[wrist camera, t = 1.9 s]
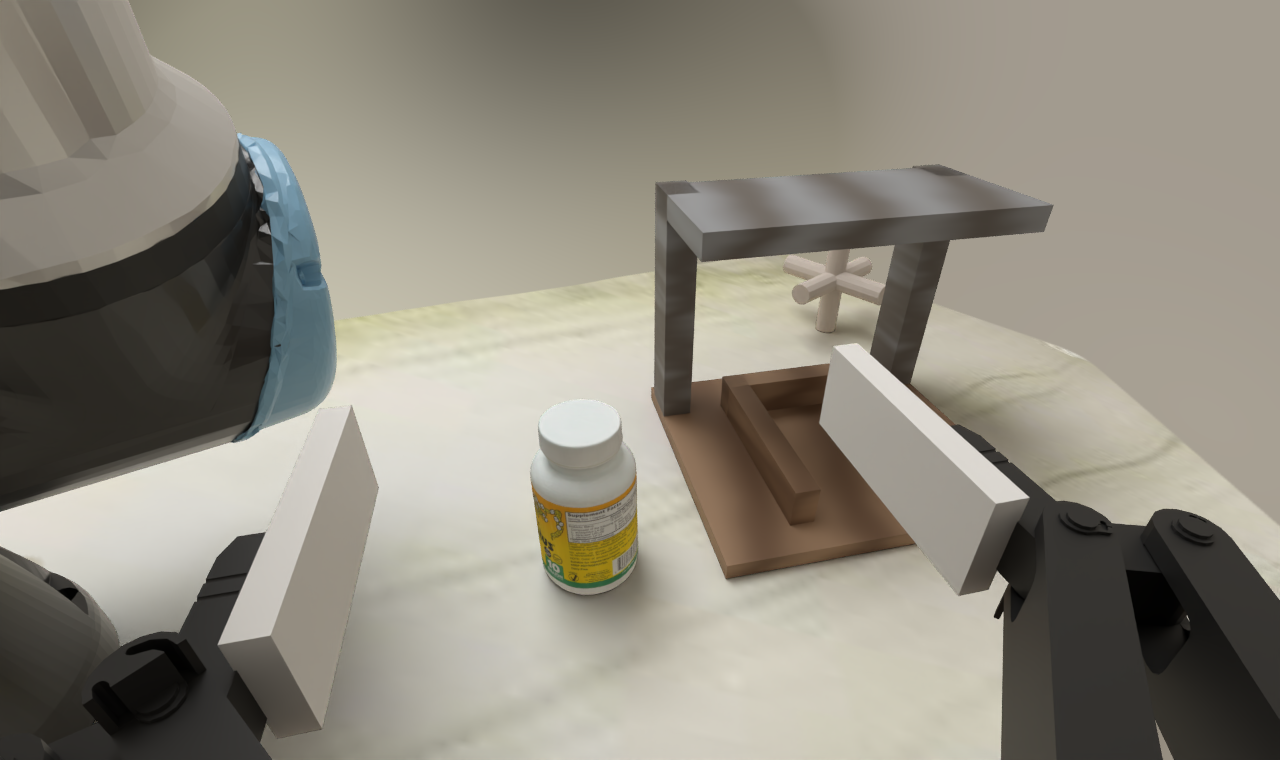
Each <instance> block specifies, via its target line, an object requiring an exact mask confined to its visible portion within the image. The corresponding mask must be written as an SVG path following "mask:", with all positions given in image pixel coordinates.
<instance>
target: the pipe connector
mask: <svg viewBox="0 0 1280 760" xmlns="http://www.w3.org/2000/svg"><path fill="white" fill-rule="evenodd" d="M849 251H850V249H843V250H831V251H828V254H827V261H826V265H823V264H820V263H817V262H814V261H811V260H808V259H804V258H801V257H798V256H795V255H789V256H788V257H787V258H786V260H785V262H784V265H783V270H784V272H785V273H788V274H791V275H794V276H796V277H799V278H802V279H805V280H807V281H805V282H803V283H800V284H798V285H796V286H795V287H794V288H793V290H792V296H793V298H794V300H795V302H797V303H798V304H803V305H804V304H806V303H808V302H810V301H812V300H814V299H817V298H819V297H820V302H819V308H818V314H817V320H816V326H815V328H816V329H817V330H818V331H821V332H833V331H834V330H835V326H836V321H837V315H838V310H839V305H840V299H841V294H842V293H845V294H848V295H851V296H854V297H857V298H860V299H862V300H865V301H868V302H871V303H874V304H877V305H881V304H882V299H883V295H884V290H885V286H886V285H885V284H882V283H879V282H876V281H873V280H870V279H867V278H863V276H865V275H867V274H869V273H870V272H871V270H872V263H871V261H870V260H869V259H868V258H866V257H859V258H857V259H855V260H853V261H850V262H848V257H849ZM847 262H848V263H847Z"/></svg>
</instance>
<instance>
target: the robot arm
mask: <svg viewBox="0 0 1280 760" xmlns="http://www.w3.org/2000/svg"><path fill="white" fill-rule="evenodd" d="M336 361H337V357H336V336H335V327H334V318H333V312H332V306H331V300H330V295H329V290H328V286H327V284H326V281H325V279H324V277H323V275H322V274H321V260H320V253H319V247H318V242H317V238H316V234H315V230H314V227H313V223H312V221H311V217H310V214H309V211H308V208H307V205H306V202H305V199H304V196H303V194H302V191H301V188H300V186H299V183H298V181H297V179H296V177H295V175H294V173H293V171H292V169H291V167H290V165H289V163H288V161H287V159H286V158H285V156H284V154H283V153H282V152H281V151H280V150H279V148H277V147H276V145H274V144H273V143H271V142H270V141H268V140H266V139H262V138H256V137H249V136H246V135H241V133H238V134H237V133H236V130H235V127H234V124H233V122H232V120H231V118H230V116H229V114H228V112H227V110H226V108H225V107H224V106H223V105H222V103H221V102H220V101H219V100H218V99H217V98H216V96H215V95H214V94H213V93H211V92H210V91H209V90H208V89H207V88H206V87H205V86H204V85H202V84H201V83H199V82H198V81H196V80H195V79H193V78H192V77H190V76H188V75H187V74H185V73H183V72H181V71H180V70H178V69H176V68H174V67H172V66H170V65H168V64H166V63H164V62H162V61H161V60H159V59H157V58H155V57H153V56H151V55H150V53H149V51H148V48H147V46H146V43H145V42H144V38H143V36H142V33H141V31H140V28H139V26H138V23H137V21H136V18H135V16H134V14H133V11H132V9H131V6H130V4H129V1H128V0H0V512H1V511H4V510H7V509H11V508H14V507H17V506H21V505H24V504H27V503H31V502H34V501H37V500H41V499H44V498H47V497H50V496H54V495H57V494H60V493H64V492H67V491H70V490H74V489H77V488H80V487H84V486H87V485H90V484H94V483H97V482H100V481H104V480H107V479H110V478H113V477H117V476H120V475H123V474H127V473H130V472H133V471H137V470H140V469H143V468H147V467H150V466H153V465H157V464H160V463H163V462H166V461H170V460H173V459H176V458H180V457H183V456H186V455H190V454H193V453H196V452H200V451H203V450H206V449H210V448H213V447H216V446H220V445H223V444H226V443H229V442H233V443H236V442H240V441H244V440H247V439H249V438H250V437H252V436H253V435H255V434H256V433H258V432H259V431H260V430H261V429H264V428H266V427H269V426H272V425H275V424H277V423H280V422H283V421H286V420H289V419H291V418H294V417H297V416H300V415H302V414H305V413H307V412H309V411H311V410H312V409H314V408H316V407H317V406H318V405H319V404H320V403H321V402H322V401H323V400H324V399H325V398H326V396H327V395H328V393H329V392H330V389H331V387H332V385H333V382H334V378H335V372H336ZM819 424H820V425H821V426H822V427H823V429H824V430H825V431H826V432H827V434H828V435H829V436H830V437H831V439H832V440H833V441H834V442H835V444H836V445H837V446H838V447H839V449H840V450H841V451H842V452H843V453H844V455H845V456H846V457H847V458H848V460H849V461H850V462H851V463H852V465H853V466H854V467H855V468H856V470H857V471H858V472H859V473H860V475H861V476H862V477H863V478H864V480H865V481H866V482H867V483H868V485H869V486H870V487H871V488H872V490H873V491H874V492H875V493H876V495H877V496H878V497H879V498H880V500H881V501H882V502H883V503H884V504H885V506H886V507H887V508H888V509H889V511H890V512H891V513H892V514H893V516H894V517H895V518H896V519H897V521H898V522H899V523H900V524H901V526H902V527H903V528H904V529H905V531H906V532H907V533H908V534H909V536H910V537H911V538H912V539H913V541H914V542H915V543H916V544H917V546H918V547H919V548H920V549H921V551H922V552H923V553H924V554H925V555H926V557H927V558H928V559H929V560H930V562H931V563H932V564H933V565H934V567H935V568H936V569H937V570H938V572H939V573H940V574H941V575H942V577H943V578H944V579H945V580H946V582H947V583H948V584H949V585H950V587H951V588H952V589H953V590H954V592H955V593H956V594H957V595H958V596H961V595H965V594H970V593H975V592H980V591H984V590H989V587H990V585H991V583H992V581H993V578H994V576H995V574H996V572H997V571H998V572H999V573H1000V574H1001V575H1002V576H1003V577H1004V578H1005V579H1006V581H1007V582H1008V583H1009V584H1008V586H1007V588H1006V590H1005V592H1004V594H1003V596H1002V599H1001V601H1000V603H999V605H998V607H997V609H996V612H995V614H994V618H997V619H999V618H1000V616H1001V614H1002V612H1004V627H1003V682H1002V737H1001V760H1163V758H1162V753H1161V748H1160V744H1159V738H1158V733H1157V729H1156V723H1157V725H1158V727H1159V729H1160V731H1161V733H1162V735H1163V737H1164V740H1165V741H1166V743H1167V746H1168V748H1169V750H1170V752H1171V754H1172V756H1173V758H1174V760H1280V600H1279V599H1278V597H1277V596H1276V595H1275V594H1274V592H1273V591H1272V590H1271V588H1270V587H1269V586H1268V585H1267V583H1266V582H1265V581H1264V579H1263V578H1262V577H1261V576H1260V574H1259V573H1258V572H1257V570H1256V569H1255V568H1254V567H1253V565H1252V564H1251V563H1250V561H1249V560H1248V559H1247V558H1246V556H1245V555H1244V554H1243V552H1242V551H1241V550H1240V549H1239V547H1238V546H1237V545H1236V543H1235V542H1234V541H1233V540H1232V538H1231V537H1230V536H1229V535H1228V534H1227V533H1226V532H1225V531H1224V530H1222V529H1221V528H1220V527H1218V526H1217V525H1215V524H1214V523H1212V522H1210V521H1209V520H1207V519H1205V518H1203V517H1201V516H1198V515H1196V514H1193V513H1190V512H1186V511H1182V510H1177V509H1162V510H1159V511H1156V512H1154V514H1153V516H1152V517H1151V519H1150V521H1149V522H1148V524H1147V526H1137V525H1125V524H1113V523H1111V522H1110V521H1109V520H1108V519H1107V518H1106V517H1105V516H1103V515H1102V514H1100V513H1098V512H1097V511H1095V510H1093V509H1092V508H1089V507H1086V506H1084V505H1081V504H1078V503H1074V502H1068V501H1055V500H1054V499H1053V498H1052V497H1051V496H1050V495H1048V494H1047V493H1046V492H1045V491H1044V490H1043V489H1042V488H1040V487H1039V486H1038V485H1037V484H1036V483H1035V482H1033V481H1032V480H1031V479H1030V478H1029V477H1028V476H1026V475H1025V474H1024V473H1023V472H1022V471H1021V470H1019V469H1018V468H1017V467H1016V466H1015V465H1014V464H1012V463H1009V462H1008V459H1007V458H1006V457H1004V456H1003V455H1002V454H1001V453H1000V452H996V450H995V448H994V447H993V446H992V445H990V444H989V443H988V442H987V441H986V440H985V439H983V438H982V437H981V436H980V435H978V434H976V433H974V432H972V431H970V430H968V429H967V428H965V427H963V426H961V425H952V426H949V425H948V424H947V423H946V422H945V421H944V420H943V419H941V418H940V417H939V416H938V415H937V414H936V413H935V412H934V411H933V410H931V409H930V408H929V407H928V406H927V405H926V404H925V403H924V402H922V401H921V400H920V399H919V398H918V397H917V396H916V395H915V394H914V393H912V392H911V391H910V390H909V389H908V388H907V387H906V386H905V385H904V384H902V383H901V382H900V381H899V380H898V379H897V378H896V377H895V376H894V375H892V374H891V373H890V372H889V371H888V370H887V369H886V368H885V367H883V366H882V365H881V364H880V363H879V362H878V361H877V360H876V359H875V358H873V357H872V356H871V355H870V354H869V353H868V352H867V351H866V350H865V349H863V348H862V347H861V346H860V345H859V344H858V343H853V344H845V345H837V346H833V349H832V355H831V360H830V366H829V372H828V377H827V383H826V388H825V394H824V399H823V405H822V410H821V416H820V422H819ZM378 488H379V487H378V484H377V481H376V478H375V475H374V472H373V469H372V466H371V463H370V460H369V457H368V454H367V450H366V447H365V444H364V441H363V438H362V435H361V432H360V429H359V426H358V423H357V420H356V417H355V414H354V411H353V408H352V405H348V406H340V407H331V408H323V409H319V410H318V412H317V415H316V417H315V419H314V422H313V424H312V426H311V429H310V431H309V433H308V436H307V438H306V440H305V443H304V445H303V447H302V450H301V452H300V454H299V457H298V459H297V461H296V464H295V466H294V468H293V471H292V473H291V475H290V478H289V480H288V482H287V485H286V487H285V489H284V492H283V494H282V496H281V498H280V501H279V503H278V505H277V508H276V510H275V512H274V515H273V517H272V519H271V522H270V524H269V526H268V529H267V531H266V532H264V533H258V534H251V535H245V536H238V537H237V538H236V539H235V540H234V541H233V542H232V543H231V544H230V545H229V546H228V547H227V548H226V549H225V550H224V551H223V552H222V553H221V554H220V555H219V556H218V557H217V558H216V560H215V562H214V564H213V566H212V568H211V570H210V572H209V574H208V576H207V578H206V583H205V584H203V586H202V588H201V590H200V592H199V594H198V596H197V602H194V604H193V606H192V608H191V610H190V612H189V614H188V616H187V618H186V620H185V622H184V624H183V626H182V628H181V630H180V632H179V634H178V633H176V632H157V633H153V634H149V635H145V636H142V637H140V638H138V639H136V640H134V641H131V642H129V643H127V644H125V645H123V646H121V647H120V648H119V640H118V636H117V632H116V630H115V628H114V626H113V624H112V623H111V621H110V620H109V618H108V617H107V616H106V614H105V613H104V612H103V611H102V609H101V608H100V607H99V605H98V604H97V603H96V602H95V600H94V599H93V598H92V597H91V596H90V594H89V593H88V592H86V591H85V590H84V589H83V588H81V587H80V586H79V585H78V584H76V583H75V582H73V581H71V580H69V579H67V578H65V577H63V576H60V575H58V574H55V573H52V572H50V571H48V570H46V569H45V568H43V567H41V566H39V565H38V564H36V563H34V562H32V561H30V560H28V559H26V558H24V557H22V556H20V555H18V554H15V553H13V552H11V551H9V550H7V549H5V548H3V547H1V546H0V760H272V759H271V758H270V756H269V755H268V753H267V752H266V751H265V749H264V748H263V747H262V745H261V744H260V740H261V737H262V734H263V731H264V728H265V724H266V722H267V724H268V725H269V727H270V729H271V730H272V732H273V733H274V735H275V736H276V738H277V739H278V738H283V737H287V736H292V735H297V734H302V733H307V732H311V731H316V730H321V729H322V728H323V724H324V720H325V716H326V711H327V707H328V703H329V698H330V694H331V690H332V686H333V681H334V677H335V673H336V668H337V664H338V660H339V656H340V651H341V647H342V643H343V638H344V634H345V630H346V626H347V621H348V617H349V613H350V608H351V604H352V600H353V596H354V591H355V587H356V583H357V578H358V574H359V570H360V566H361V561H362V557H363V553H364V548H365V544H366V540H367V536H368V531H369V527H370V523H371V518H372V514H373V510H374V506H375V501H376V497H377V493H378ZM1186 616H1188V618H1189V620H1188V618H1187V617H1186ZM1189 621H1190V622H1189ZM95 720H96V721H97V722H98V723H96V724H93V723H94V721H95ZM1155 720H1156V723H1155ZM92 724H93V725H92Z"/></svg>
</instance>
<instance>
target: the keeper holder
mask: <svg viewBox="0 0 1280 760" xmlns="http://www.w3.org/2000/svg"><path fill="white" fill-rule="evenodd" d="M655 190H656V193H655V197H656V198H655V199H656V200H655V366H654V387H651V398H652V401H653V403H654V405H655V408H656V410H657V413H658V415H659V418H660V420H661V422H662V425H663V427H664V430H665V432H666V435H667V437H668V439H669V442H670V444H671V447H672V449H673V452H674V454H675V456H676V459H677V461H678V464H679V466H680V469H681V471H682V473H683V476H684V478H685V481H686V483H687V486H688V488H689V490H690V493H691V495H692V498H693V500H694V503H695V505H696V507H697V510H698V512H699V515H700V517H701V520H702V522H703V524H704V527H705V529H706V532H707V534H708V537H709V539H710V541H711V544H712V546H713V549H714V551H715V554H716V556H717V558H718V561H719V563H720V566H721V568H722V570H723V573H724V575H725V578H726V579H727V578H732V577H738V576H743V575H748V574H754V573H759V572H765V571H770V570H775V569H781V568H786V567H791V566H797V565H802V564H808V563H813V562H818V561H824V560H829V559H835V558H840V557H845V556H851V555H856V554H862V553H867V552H872V551H878V550H883V549H889V548H894V547H899V546H905V545H910V544H916V543H915V542H914V541H913V539H912V538H911V537H910V536H909V534H908V533H907V532H906V531H905V529H904V528H903V527H902V526H901V524H900V523H899V522H898V521H897V519H896V518H895V517H894V516H893V514H892V513H891V512H890V511H889V509H888V508H887V507H886V506H885V504H884V503H883V502H882V501H881V500H880V498H879V497H878V496H877V495H876V493H875V492H874V491H873V490H872V488H871V487H870V486H869V485H868V483H867V482H866V481H865V480H864V478H863V477H862V476H861V475H860V473H859V472H858V471H857V470H856V468H855V467H854V466H853V465H852V463H851V462H850V461H849V460H848V458H847V457H846V456H845V455H844V453H843V452H842V451H841V450H840V449H839V447H838V446H837V445H836V444H835V442H834V441H833V440H832V439H831V437H830V436H829V435H828V434H827V432H826V431H825V430H824V429H823V427H822V426H821V425H820V424H819V422H820V416H821V410H822V405H823V399H824V394H825V388H826V383H827V377H828V372H829V366H830V364H821V365H813V366H805V367H797V368H789V369H781V370H773V371H765V372H757V373H749V374H741V375H732V376H724V377H722V379H715V380H707V381H699V382H692V361H693V339H694V316H695V294H696V272H697V257H698V258H699V260H700V261H701V262H706V261H718V260H729V259H740V258H752V257H763V256H774V255H786V254H797V253H807V252H819V251H831V250H843V249H854V248H865V247H876V246H887V245H895V247H894V251H893V256H892V260H891V264H890V269H889V273H888V277H887V282H886V286H885V290H884V295H883V299H882V304H881V308H880V312H879V317H878V321H877V325H876V330H875V334H874V338H873V343H872V347H871V352H870V355H871V356H872V357H873V358H875V359H876V360H877V361H878V362H879V363H880V364H881V365H882V366H883V367H885V368H886V369H887V370H888V371H889V372H890V373H891V374H892V375H894V376H895V377H896V378H897V379H898V380H899V381H900V382H901V383H902V384H904V385H905V386H906V387H907V388H908V389H909V390H910V391H911V392H912V393H914V394H915V395H916V396H917V397H918V398H919V399H920V400H921V401H922V402H924V403H925V404H926V405H927V406H928V407H929V408H930V409H931V410H933V411H934V412H935V413H936V414H937V415H938V416H939V417H940V418H941V419H943V420H944V421H945V422H946V423H947V424H948V425H949V426H952V425H955V424H954V423H953V422H952V421H951V420H950V419H949V418H948V417H946V416H945V415H944V414H943V413H942V412H941V411H940V410H939V409H938V408H936V407H935V406H934V405H933V404H932V403H931V402H930V401H929V400H928V399H926V398H925V397H924V396H923V395H922V394H921V393H920V392H919V391H918V390H916V389H915V388H914V387H913V386H912V385H911V384H910V382H911V378H912V375H913V371H914V367H915V364H916V360H917V357H918V353H919V350H920V346H921V342H922V339H923V335H924V332H925V328H926V324H927V321H928V317H929V314H930V310H931V307H932V303H933V299H934V296H935V292H936V289H937V285H938V282H939V278H940V274H941V270H942V267H943V264H944V260H945V256H946V253H947V249H948V246H949V242H950V240H956V239H967V238H979V237H990V236H1001V235H1013V234H1024V233H1036V232H1044V230H1045V227H1046V224H1047V222H1048V219H1049V216H1050V214H1051V211H1052V208H1053V205H1052V204H1050V203H1047V202H1044V201H1041V200H1038V199H1035V198H1033V197H1030V196H1027V195H1024V194H1021V193H1018V192H1016V191H1013V190H1010V189H1007V188H1004V187H1001V186H999V185H996V184H993V183H990V182H987V181H984V180H981V179H978V178H976V177H973V176H970V175H967V174H965V173H962V172H959V171H956V170H953V169H951V168H948V167H945V166H942V165H923V166H913V168H906V169H891V170H875V171H859V172H844V173H829V174H812V175H796V176H783V177H782V176H781V177H765V178H750V179H734V180H718V181H704V182H687V181H686V180H685V181H670V182H656V188H655Z"/></svg>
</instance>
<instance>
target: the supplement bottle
mask: <svg viewBox="0 0 1280 760" xmlns="http://www.w3.org/2000/svg"><path fill="white" fill-rule="evenodd" d="M538 432H539V445H540V449H539V450H538V452H537V453H536V455H535V457H534V459H533V461H532V464H531V471H530V476H531V477H530V478H531V485H532V491H533V497H534V504H535V511H536V518H537V526H538V533H539V540H540V546H541V554H542V560H543V565H544V568H545V571H546V573H547V574H548V576H549V577H550V578H551V579H552V580H553V581H554V582H555V583H556V584H557V585H559V586H560V587H561V588H563V589H564V590H567V591H569V592H572V593H576V594H580V595H593V594H599V593H603V592H606V591H609V590H612V589H613V588H615V587H617V586H618V585H620V584H621V583H622V582H624V581H625V580H626V579H627V578H628V577H629V575H630V574H631V573H632V571H633V569H634V567H635V565H636V561H637V556H638V531H637V478H636V463H635V459H634V456H633V453H632V452H631V450H630V449H629V447H628V446H627V445H626V444H625V443H624V442H623V441H622V439H623V437H622V427H621V418H620V416H619V414H618V412H617V411H616V410H615V409H614V408H613V407H612V406H610V405H608V404H606V403H603V402H601V401H597V400H589V399H575V400H569V401H565V402H562V403H559V404H557V405H554V406H552V407H551V408H549V409H548V410H547V411H546V412H545V413H544V414H543V415H542V416H541V418H540V420H539V423H538Z"/></svg>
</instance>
